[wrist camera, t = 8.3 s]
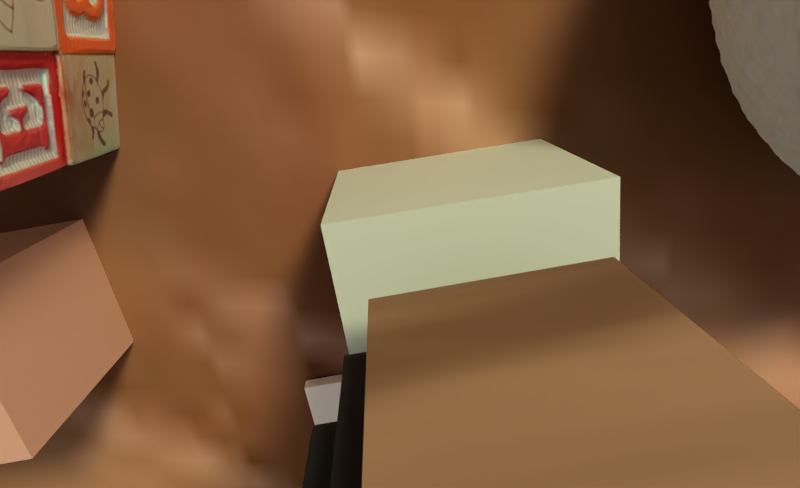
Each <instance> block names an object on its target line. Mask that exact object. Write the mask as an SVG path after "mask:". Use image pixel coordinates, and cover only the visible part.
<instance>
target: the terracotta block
mask: <svg viewBox="0 0 800 488" xmlns="http://www.w3.org/2000/svg"><path fill="white" fill-rule="evenodd" d="M133 342H134V341H133V338H132V336H131V334H130V331H129V329H128V326H127V324H126V322H125V319H124V317H123V314H122V312H121V310H120V307H119V305H118V302H117V300H116V298H115V295H114V293H113V291H112V288H111V286H110V283H109V281H108V279H107V276H106V274H105V271H104V269H103V267H102V264H101V262H100V259H99V257H98V255H97V252H96V250H95V248H94V245H93V243H92V240H91V238H90V236H89V233H88V231H87V228H86V226H85V224H84V221H83V219H78V220H72V221H67V222H61V223H56V224H50V225H44V226H39V227H33V228H28V229H22V230H16V231H11V232H5V233H0V464H4V463H10V462H16V461H22V460H28V459H33V457H34V456H35V455H36V454H37V453H38V452H39V450H40V449H41V448H42V447H43V446H44V445H45V444H46V442H47V441H48V440H49V439H50V438H51V437H52V435H53V434H54V433H55V432H56V431H57V430H58V428H59V427H60V426H61V425H62V424H63V423H64V422H65V420H66V419H67V418H68V417H69V416H70V415H71V413H72V412H73V411H74V410H75V409H76V408H77V407H78V405H79V404H80V403H81V402H82V401H83V400H84V398H85V397H86V396H87V395H88V394H89V393H90V392H91V390H92V389H93V388H94V387H95V386H96V385H97V383H98V382H99V381H100V380H101V379H102V378H103V376H104V375H105V374H106V373H107V372H108V371H109V370H110V368H111V367H112V366H113V365H114V364H115V363H116V361H117V360H118V359H119V358H120V357H121V356H122V355H123V353H124V352H125V351H126V350H127V349H128V348H129V346H130V345H131V344H132V343H133Z"/></svg>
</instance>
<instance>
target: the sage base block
mask: <svg viewBox="0 0 800 488" xmlns="http://www.w3.org/2000/svg"><path fill="white" fill-rule="evenodd" d="M321 229H322V234H323V238H324V243H325V247H326V252H327V256H328V261H329V265H330V270H331V274H332V279H333V284H334V288H335V293H336V297H337V302H338V306H339V311H340V315H341V320H342V324H343V329H344V333H345V338H346V342H347V347H348V351H349V355H350V354H356V353H362V352H367V325H368V299H373V298H378V297H384V296H390V295H396V294H402V293H407V292H413V291H419V290H425V289H431V288H436V287H442V286H448V285H454V284H459V283H465V282H471V281H477V280H483V279H488V278H494V277H500V276H506V275H512V274H517V273H523V272H529V271H535V270H541V269H546V268H552V267H558V266H564V265H569V264H575V263H581V262H587V261H593V260H598V259H604V258H610V257H615V258H616V259H617V260H618V261H620V176H618V175H615V174H613V173H611V172H609V171H607V170H605V169H603V168H601V167H599V166H597V165H594V164H592V163H590V162H588V161H586V160H584V159H582V158H580V157H578V156H576V155H573V154H571V153H569V152H567V151H565V150H563V149H561V148H559V147H557V146H555V145H552V144H550V143H548V142H546V141H544V140H542V139H535V140H529V141H523V142H517V143H511V144H504V145H498V146H492V147H486V148H479V149H473V150H467V151H461V152H455V153H448V154H442V155H436V156H430V157H423V158H417V159H411V160H405V161H399V162H392V163H386V164H380V165H374V166H368V167H361V168H355V169H349V170H343V171H338V174H337V177H336V180H335V183H334V186H333V189H332V192H331V195H330V198H329V201H328V204H327V207H326V210H325V213H324V216H323V219H322V222H321Z"/></svg>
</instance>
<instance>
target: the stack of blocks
mask: <svg viewBox="0 0 800 488" xmlns="http://www.w3.org/2000/svg"><path fill="white" fill-rule="evenodd" d="M115 50H116V41H115V28H114V13H113V0H0V191H3V190H6V189H9V188H11V187H14V186H17V185H20V184H22V183H25V182H27V181H30V180H33V179H35V178H38V177H40V176H43V175H46V174H48V173H51V172H53V171H56V170H58V169H60V168H62V167H63V166H65V165H75V164H78V163H81V162H84V161H86V160H89V159H93V158H95V157H98V156H101V155H104V154H106V153H109V152H111V151H114V150H116V149H118V148H119V147H120V136H119V122H118V109H117V94H116V79H115V65H114V53H115Z"/></svg>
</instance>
